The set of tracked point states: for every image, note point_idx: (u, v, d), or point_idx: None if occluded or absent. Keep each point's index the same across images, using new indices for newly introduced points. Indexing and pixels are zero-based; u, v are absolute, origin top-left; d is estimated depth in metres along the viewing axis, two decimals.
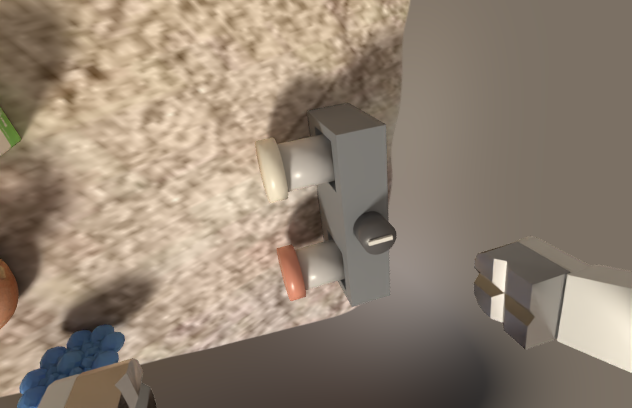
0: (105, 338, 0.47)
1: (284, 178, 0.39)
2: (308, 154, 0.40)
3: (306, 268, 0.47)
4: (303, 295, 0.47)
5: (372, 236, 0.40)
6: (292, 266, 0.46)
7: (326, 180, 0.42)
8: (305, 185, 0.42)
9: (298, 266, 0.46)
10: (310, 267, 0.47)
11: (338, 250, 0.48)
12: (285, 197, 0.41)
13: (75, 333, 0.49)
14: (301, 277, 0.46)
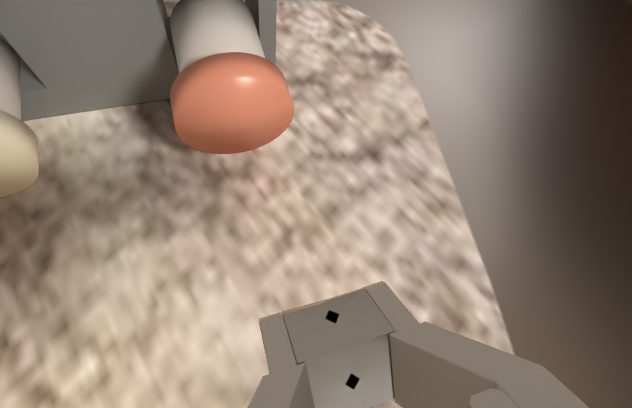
0: None
1: None
2: None
3: None
4: (253, 58, 0.20)
5: None
6: (179, 89, 0.20)
7: None
8: None
9: (179, 76, 0.20)
10: (192, 57, 0.21)
11: (172, 18, 0.23)
12: None
13: None
14: (198, 63, 0.20)
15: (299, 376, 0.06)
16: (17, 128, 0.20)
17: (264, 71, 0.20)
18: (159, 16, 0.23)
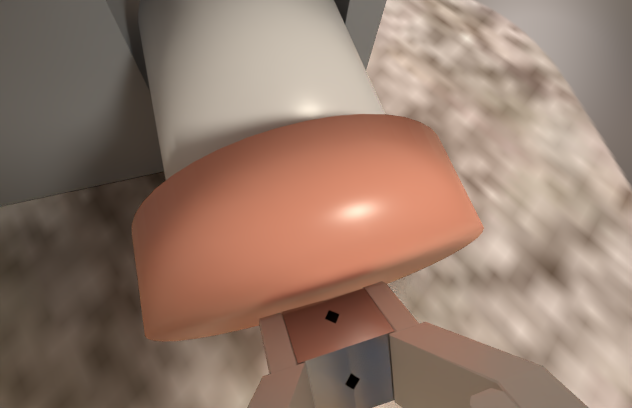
0: None
1: None
2: None
3: (201, 148, 0.07)
4: (399, 132, 0.06)
5: None
6: (155, 247, 0.06)
7: None
8: None
9: (154, 202, 0.06)
10: (195, 126, 0.07)
11: (142, 13, 0.09)
12: None
13: None
14: (218, 161, 0.06)
15: (299, 376, 0.06)
16: None
17: (436, 173, 0.06)
18: (106, 9, 0.09)
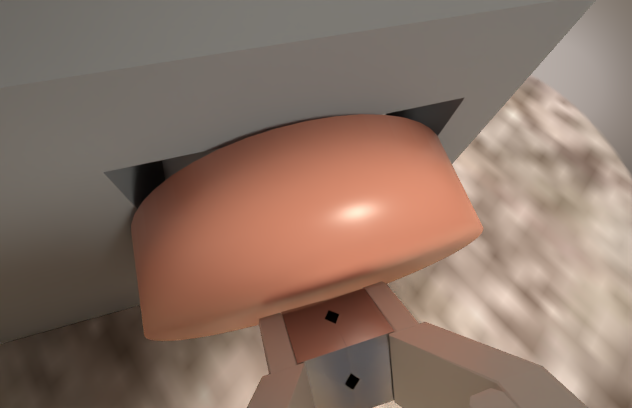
0: None
1: None
2: None
3: None
4: (399, 133, 0.06)
5: None
6: (154, 247, 0.06)
7: None
8: None
9: (154, 201, 0.06)
10: None
11: None
12: None
13: None
14: (217, 161, 0.06)
15: (299, 376, 0.06)
16: None
17: (436, 173, 0.06)
18: (133, 210, 0.07)
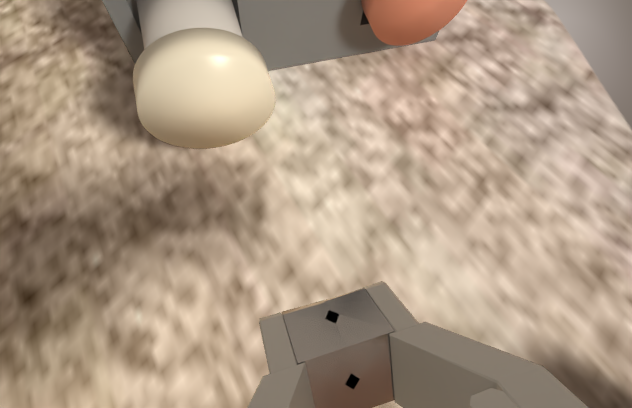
0: None
1: (181, 32, 0.17)
2: (151, 14, 0.19)
3: None
4: None
5: None
6: None
7: None
8: (221, 16, 0.20)
9: None
10: None
11: None
12: (242, 41, 0.18)
13: None
14: None
15: (299, 376, 0.06)
16: None
17: None
18: None
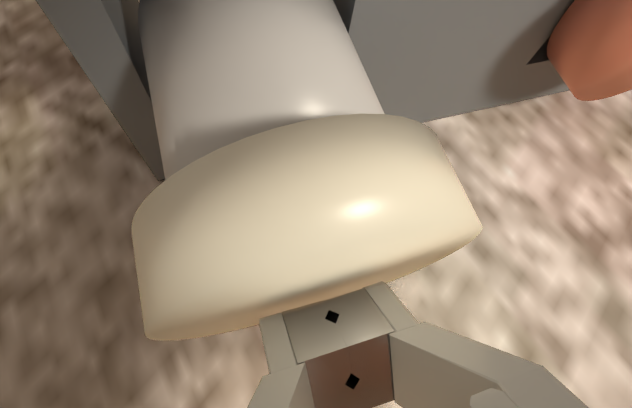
0: None
1: (290, 134, 0.05)
2: (177, 58, 0.08)
3: None
4: None
5: None
6: None
7: None
8: (350, 61, 0.08)
9: None
10: None
11: None
12: (431, 138, 0.07)
13: None
14: None
15: (299, 376, 0.06)
16: None
17: None
18: None
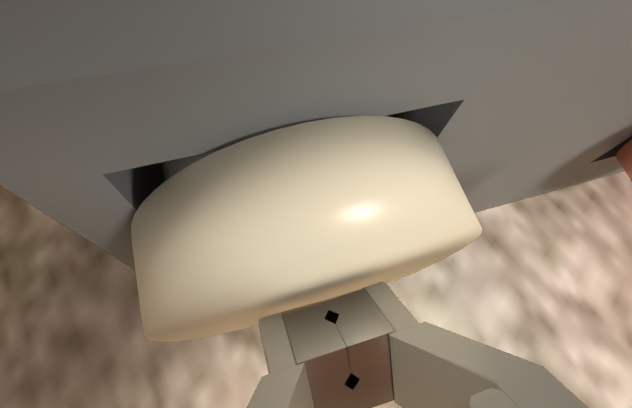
0: None
1: (289, 136, 0.05)
2: None
3: None
4: None
5: None
6: None
7: None
8: None
9: None
10: None
11: None
12: (431, 140, 0.07)
13: None
14: None
15: (298, 376, 0.06)
16: None
17: None
18: None
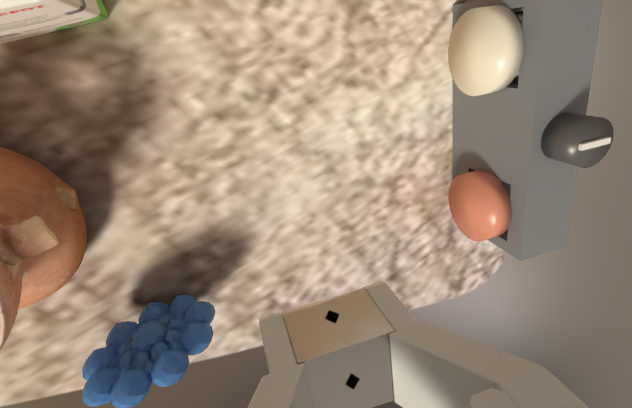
0: (192, 307, 0.35)
1: (522, 45, 0.29)
2: None
3: (508, 193, 0.36)
4: (504, 229, 0.36)
5: (585, 136, 0.29)
6: (495, 188, 0.35)
7: None
8: None
9: (502, 188, 0.35)
10: None
11: None
12: (509, 81, 0.31)
13: (150, 304, 0.37)
14: (508, 202, 0.35)
15: (299, 376, 0.06)
16: (490, 92, 0.33)
17: (496, 234, 0.36)
18: (499, 179, 0.36)
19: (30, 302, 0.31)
